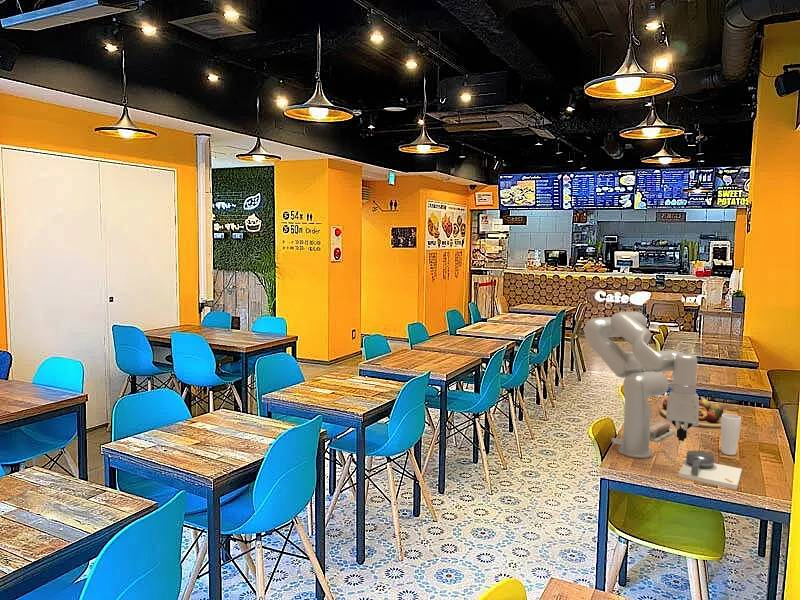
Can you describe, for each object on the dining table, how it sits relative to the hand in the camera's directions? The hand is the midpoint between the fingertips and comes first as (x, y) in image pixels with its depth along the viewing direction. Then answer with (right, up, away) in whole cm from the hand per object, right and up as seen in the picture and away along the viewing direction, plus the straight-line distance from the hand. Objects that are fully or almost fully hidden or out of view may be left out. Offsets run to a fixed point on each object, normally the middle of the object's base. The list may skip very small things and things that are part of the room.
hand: (681, 439), depth 214 cm
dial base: (+10, -12, 0) cm, 16 cm away
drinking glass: (+29, -11, +22) cm, 38 cm away
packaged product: (+9, -9, +43) cm, 44 cm away
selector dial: (+7, -10, +1) cm, 12 cm away
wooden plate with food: (+39, -7, +69) cm, 80 cm away
